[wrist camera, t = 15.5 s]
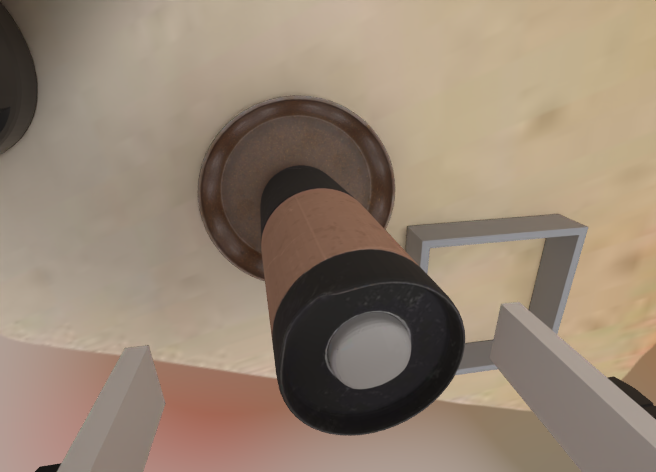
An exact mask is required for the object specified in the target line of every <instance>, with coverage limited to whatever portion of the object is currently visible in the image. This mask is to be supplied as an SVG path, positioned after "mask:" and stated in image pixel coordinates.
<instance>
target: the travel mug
mask: <svg viewBox="0 0 656 472" xmlns="http://www.w3.org/2000/svg"><path fill="white" fill-rule="evenodd" d="M260 218H261V251H262V260H263V268H264V276H265V284H266V293H267V301H268V309H269V317H270V325H271V334H272V342H273V350H274V358H275V367H276V375H277V380H278V384H279V389H280V392H281V395H282V397H283V399H284V402H285V403H286V405H287V406H288V408H289V409H290V411H291V412H292V413H293V414H294V415H295V416H296V417H297V418H298V419H299V420H301V421H302V422H303V423H304V424H306V425H308V426H310V427H312V428H314V429H317V430H319V431H322V432H325V433H329V434H336V435H363V434H369V433H375V432H378V431H382V430H385V429H388V428H391V427H394V426H396V425H398V424H400V423H403V422H405V421H407V420H408V419H410V418H412V417H414V416H415V415H417V414H418V413H420V412H421V411H423V410H424V409H425V408H427V407H428V406H429V405H430V404H431V403H433V402H434V401H435V400H436V399H437V398H438V397H439V396H440V395H441V394H442V392H443V391H444V390H445V389H446V388H447V386H448V385H449V384H450V382H451V381H452V379H453V378H454V376H455V374H456V372H457V370H458V368H459V366H460V363H461V360H462V357H463V353H464V348H465V330H464V326H463V321H462V318H461V316H460V314H459V311H458V310H457V308H456V307H455V305H454V304H453V302H452V301H451V299H450V298H449V297H448V296H447V295H446V294H445V293H444V292H443V291H442V290H441V288H440V287H439V286H438V285H437V284H436V283H435V282H434V281H433V280H432V279H431V278H430V277H429V276H428V275H427V274H426V273H425V272H424V270H423V269H422V268H421V267H420V266H419V265H418V264H417V263H416V262H415V261H414V260H413V259H412V258H411V257H410V256H409V255H408V253H407V252H406V251H405V250H404V249H403V248H402V247H401V246H400V245H399V244H398V243H397V242H396V241H395V240H394V239H393V238H392V236H391V235H390V234H389V233H388V232H387V231H386V230H385V229H384V228H383V227H382V226H381V225H380V224H379V223H378V222H377V221H376V219H375V218H374V217H373V216H372V215H371V214H370V213H369V212H368V211H367V210H366V209H365V208H364V207H363V206H362V205H361V204H360V203H359V202H358V201H357V200H356V199H355V198H354V197H353V196H352V195H350V194H349V193H348V192H347V191H346V190H345V189H344V188H342V187H341V186H340V185H339V184H338V183H337V182H336V181H334V180H333V179H332V178H331V177H330V176H328V175H327V174H326V173H324V172H323V171H321V170H319V169H317V168H315V167H311V166H305V165H298V166H292V167H288V168H286V169H283V170H282V171H280V172H278V173H277V174H276V175H274V176H273V177H272V178H271V179H270V181H269V182H268V183H267V185H266V186H265V188H264V191H263V193H262V197H261V204H260Z"/></svg>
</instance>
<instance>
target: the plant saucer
mask: <svg viewBox="0 0 656 472" xmlns="http://www.w3.org/2000/svg"><path fill="white" fill-rule="evenodd" d="M298 165H305V166H311V167H315V168H317V169H319V170H321V171H323V172H324V173H326V174H327V175H328V176H330V177H331V178H332V179H333V180H334V181H336V182H337V183H338V184H339V185H340V186H341V187H342V188H344V189H345V190H346V191H347V192H348V193H349V194H350V195H352V196H353V197H354V198H355V199H356V200H357V201H358V202H359V203H360V204H361V205H362V206H363V207H364V208H365V209H366V210H367V211H368V212H369V213H370V214H371V215H372V216H373V217H374V218H375V219H376V221H377V222H378V223H379V224H380V225H381V226H382V227H383V228H384V229H385V230H386V228H387V225H388V223H389V220H390V218H391V214H392V210H393V206H394V199H395V180H394V173H393V168H392V164H391V161H390V158H389V155H388V153H387V151H386V149H385V147H384V145H383V143H382V141H381V140H380V138H379V137H378V135H377V134H376V133H375V131H374V130H373V129H372V128H371V127H370V126H369V125H368V124H367V123H366V122H365V121H364V120H363V119H362V118H360V117H359V116H358V115H356V114H355V113H354V112H352V111H350V110H349V109H347V108H345V107H343V106H341V105H339V104H337V103H334V102H332V101H329V100H326V99H322V98H317V97H311V96H285V97H278V98H274V99H270V100H267V101H264V102H261V103H258V104H256V105H254V106H252V107H250V108H248V109H246V110H245V111H243V112H241V113H240V114H239V115H237V116H236V117H235V118H233V119H232V120H231V121H230V122H229V123H228V124H226V126H225V127H224V128H223V129H222V130H221V131H220V132H219V133H218V135H217V136H216V137H215V139H214V140H213V142H212V144H211V145H210V147H209V149H208V151H207V153H206V155H205V158H204V160H203V163H202V167H201V171H200V175H199V183H198V202H199V209H200V213H201V217H202V221H203V223H204V226H205V229H206V231H207V233H208V235H209V237H210V239H211V240H212V242H213V243H214V245H215V246H216V247H217V249H218V250H219V251H220V252H221V254H222V255H223V256H224V257H225V258H226V259H227V260H228V261H229V262H231V263H232V264H233V265H234V266H236V267H237V268H238V269H240V270H241V271H243V272H245V273H246V274H248V275H250V276H252V277H255V278H257V279H260V280H263V281H265V276H264V268H263V260H262V251H261V218H260V204H261V197H262V193H263V191H264V188H265V186H266V185H267V183H268V182H269V181H270V179H271V178H272V177H273V176H274V175H276V174H277V173H278V172H280V171H282V170H283V169H286V168H288V167H292V166H298Z"/></svg>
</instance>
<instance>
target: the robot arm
mask: <svg viewBox="0 0 656 472" xmlns="http://www.w3.org/2000/svg"><path fill="white" fill-rule="evenodd" d="M36 99H37V82H36V75H35V69H34V65H33V61H32V58H31V55H30V52H29V49H28V47H27V45H26V42H25V40H24V38H23V36H22V34H21V32H20V30H19V29H18V27H17V25H16V23H15V22H14V20H13V19H12V17H11V16H10V14H9V13H8V12H7V10H6V9H5V7H4V6H3V5H2V4H1V2H0V154H1V153H3V152H4V151H6V150H7V149H9V148H10V147H12V146H13V145H14V144H15V143H16V142H17V141H18V140H19V139H20V138H21V137H22V136H23V134H24V133H25V131H26V130H27V128H28V126H29V124H30V122H31V120H32V117H33V114H34V111H35V106H36ZM490 359H491V361H492V362H493V363H494V364H495V366H496V367H497V368H498V369H499V370H500V372H501V373H502V374H503V375H504V377H505V378H506V379H507V380H508V381H509V383H510V384H511V385H512V386H513V388H514V389H515V390H516V391H517V393H518V394H519V395H520V396H521V397H522V399H523V400H524V401H525V402H526V404H527V405H528V406H529V407H530V409H531V410H532V411H533V412H534V413H535V415H536V416H537V417H538V418H539V420H540V421H541V422H542V423H543V425H544V426H545V427H546V428H547V429H548V431H549V432H550V433H551V434H552V436H553V437H554V438H555V439H556V440H557V442H558V443H559V444H560V445H561V447H562V448H563V449H564V450H565V452H566V453H567V454H568V455H569V457H570V458H571V459H572V460H573V461H574V463H575V464H576V465H577V466H578V468H579V469H580V470H581V471H582V472H656V406H654V405H653V403H652V402H651V401H650V400H648V399H647V398H646V397H645V396H643V395H642V394H641V393H640V392H639V391H638V390H636V389H635V388H633V387H632V386H630V385H628V384H626V383H624V382H623V381H621V380H619V379H617V378H616V377H608V378H607V377H606V376H605V375H603V374H602V373H601V372H600V371H599V370H598V369H596V368H595V367H594V366H593V365H592V364H591V363H589V362H588V361H587V360H586V359H585V358H584V357H582V356H581V355H580V354H579V353H578V352H577V351H575V350H574V349H573V348H572V347H571V346H570V345H568V344H567V343H566V342H565V341H564V340H563V339H562V338H560V337H559V336H558V335H557V334H556V333H555V332H553V331H552V330H551V329H550V328H549V327H548V326H546V325H545V324H544V323H543V322H542V321H541V320H539V319H538V318H537V317H536V316H535V315H534V314H532V313H531V312H530V311H529V310H528V309H527V308H525V307H524V306H523V305H522V304H521V303H520V302H513V303H505V304H501V307H500V311H499V316H498V321H497V326H496V330H495V335H494V340H493V345H492V350H491V354H490ZM164 406H165V400H164V397H163V394H162V390H161V387H160V383H159V380H158V376H157V373H156V369H155V366H154V362H153V359H152V355H151V352H150V348H149V345H147V346H138V347H130V348H125V349H124V351H123V352H122V354H121V356H120V358H119V360H118V361H117V363H116V365H115V367H114V369H113V371H112V373H111V374H110V376H109V378H108V380H107V381H106V383H105V385H104V387H103V389H102V391H101V392H100V394H99V396H98V398H97V400H96V402H95V403H94V405H93V407H92V409H91V411H90V413H89V414H88V416H87V418H86V420H85V422H84V423H83V425H82V427H81V429H80V431H79V432H78V434H77V436H76V438H75V440H74V441H73V444H72V445H71V447H70V449H69V451H68V452H67V454H66V456H65V458H64V460H63V462H62V463H61V464H55V465H48V466H42V467H39V468H38V469H37V470H36V471H35V472H143V471H144V468H145V464H146V462H147V459H148V455H149V452H150V449H151V446H152V443H153V440H154V437H155V434H156V431H157V428H158V425H159V421H160V418H161V415H162V412H163V409H164Z"/></svg>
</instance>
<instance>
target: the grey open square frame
mask: <svg viewBox="0 0 656 472" xmlns="http://www.w3.org/2000/svg"><path fill="white" fill-rule="evenodd" d="M587 230H588V227H587V226H585V225H583V224H580V223H578V222H576V221H573V220H571V219H569V218H567V217H564V216H562V215H560V214H553V215H540V216H528V217H515V218H502V219H490V220H477V221H465V222H452V223H440V224H427V225H414V226H407V240H406V252H407V253H408V255H409V256H410V257H411V258H412V259H413V260H414V261H415V262H416V263H417V264H418V265H419V266H420V267H421V268H422V269H423V270H424V272H425V273H426V274H427V271H428V261H429V251H430V248H437V247H448V246H459V245H471V244H482V243H493V242H504V241H516V240H527V239H538V238H546V242H545V246H544V250H543V254H542V258H541V262H540V266H539V270H538V274H537V279H536V283H535V287H534V291H533V295H532V299H531V303H530V307H529V311H530V312H531V313H532V314H534V315H535V316H536V317H537V318H538V319H539V320H541V321H542V322H543V323H544V324H545V325H546V326H548V327H549V328H550V329H551V330H552V331H553V332H555V333H556V334H557V333H558V330H559V326H560V323H561V319H562V316H563V312H564V309H565V305H566V302H567V299H568V295H569V292H570V288H571V285H572V281H573V278H574V274H575V271H576V268H577V264H578V261H579V257H580V254H581V250H582V247H583V244H584V240H585V237H586V233H587ZM492 345H493V340H488V341H480V342H473V343H465V348H464V353H463V357H462V360H461V363H460V366H459V368H458V370H457V372H456V374H455V375H460V374H467V373H474V372H481V371H489V370H496V369H498V368H497V367H496V366H495V364H494V363H493V362H492V361H491V359H490V354H491V350H492Z"/></svg>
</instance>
